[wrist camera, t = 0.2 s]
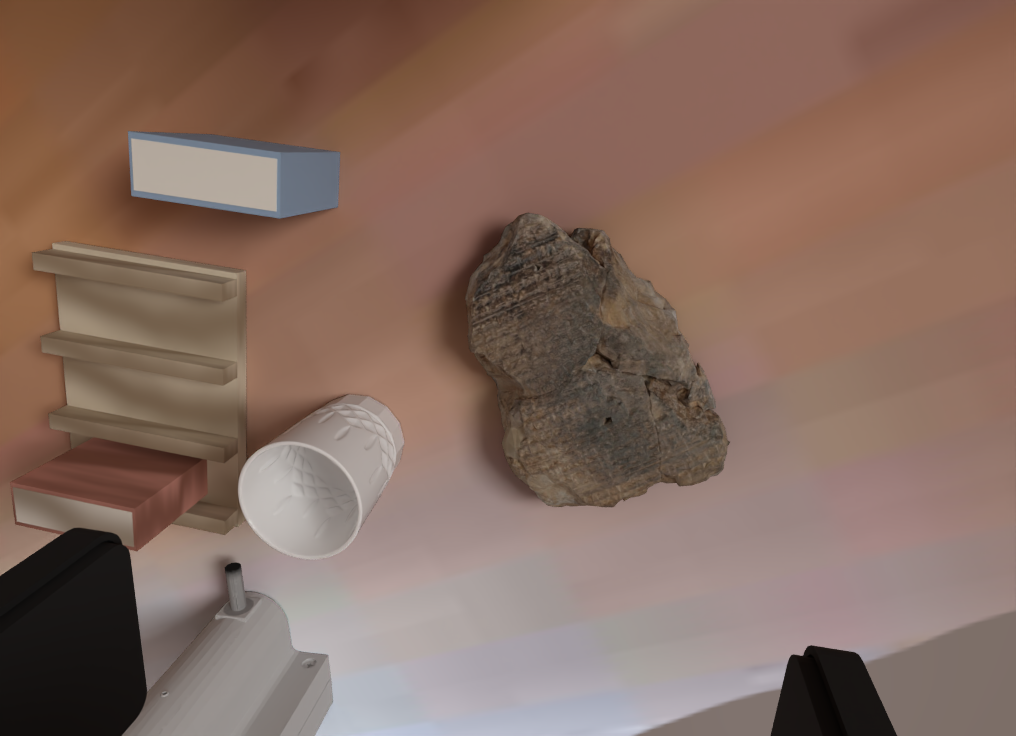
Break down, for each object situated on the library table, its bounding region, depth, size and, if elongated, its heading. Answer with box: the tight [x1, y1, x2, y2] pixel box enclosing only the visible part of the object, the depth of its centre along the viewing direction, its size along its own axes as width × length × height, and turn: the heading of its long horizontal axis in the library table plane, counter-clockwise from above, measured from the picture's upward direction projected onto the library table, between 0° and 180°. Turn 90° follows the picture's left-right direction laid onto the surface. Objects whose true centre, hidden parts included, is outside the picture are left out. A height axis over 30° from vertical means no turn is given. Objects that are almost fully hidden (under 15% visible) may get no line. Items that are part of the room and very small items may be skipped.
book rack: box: [10, 241, 246, 551], centre depth 47 cm, size 20×14×9 cm
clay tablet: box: [465, 213, 730, 507], centre depth 44 cm, size 14×5×20 cm
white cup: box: [238, 394, 404, 560], centre depth 45 cm, size 8×8×10 cm
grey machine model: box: [122, 563, 333, 736], centre depth 50 cm, size 12×14×15 cm
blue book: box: [128, 131, 340, 218], centre depth 41 cm, size 4×9×8 cm, turn 83°
